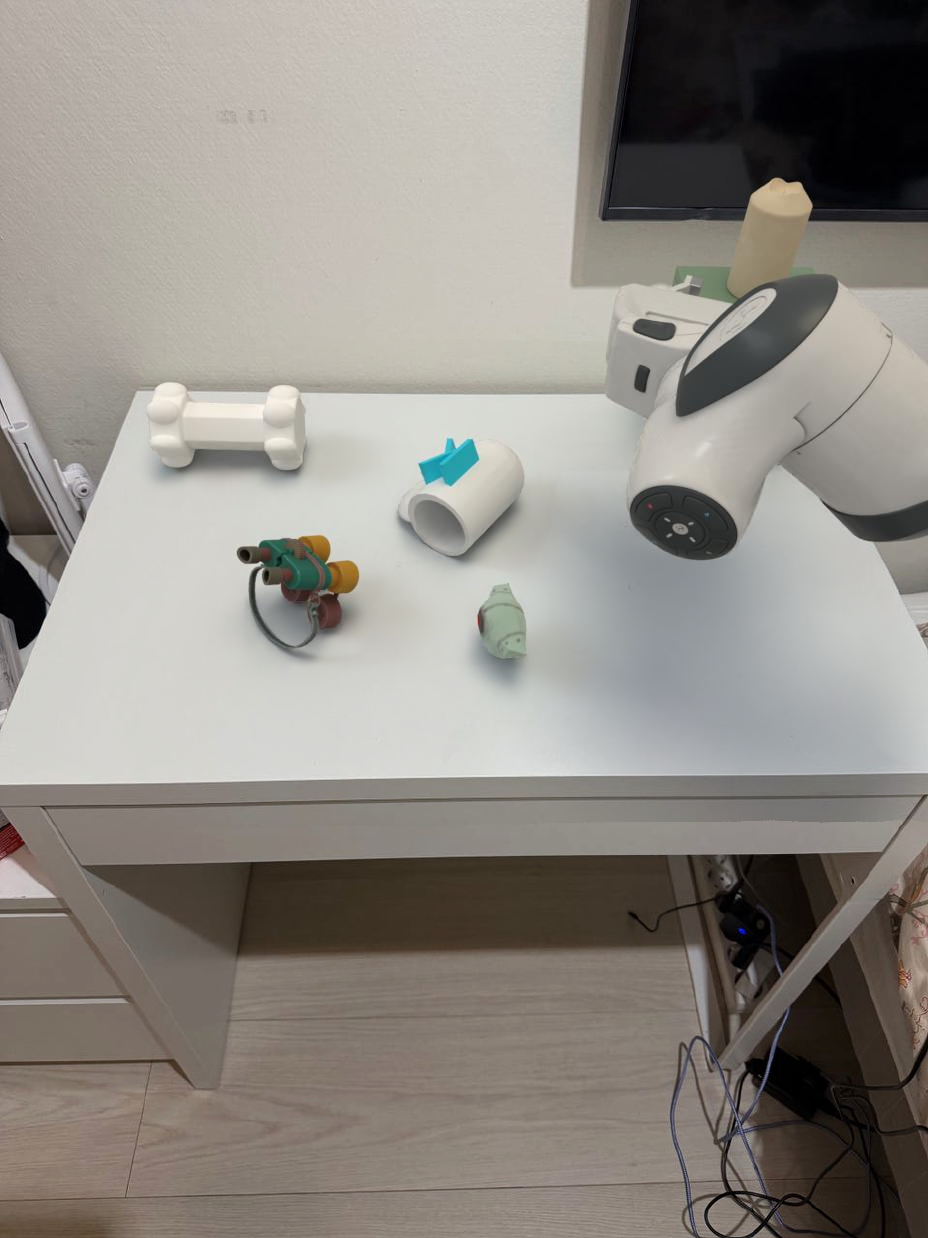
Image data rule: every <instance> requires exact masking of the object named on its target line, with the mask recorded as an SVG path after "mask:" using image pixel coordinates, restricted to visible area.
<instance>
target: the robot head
mask: <svg viewBox="0 0 928 1238" xmlns="http://www.w3.org/2000/svg"><path fill="white" fill-rule="evenodd" d="M476 616H477V618H476V619H477V627H478V631H479V635H480V638H481V639H480V640H481V641H482V643H483V645H484V648H485V649H486V650H487V651H488V652H489V653H490V654H491V655H492V656H494V657H495V658H497V659H498V660H499V659H500V660H508V659H515V658H519V657H524V656H528V653H527V645H526V641H527V620H526V616H525V612H524V609H523V607H522V606H521V604H520V603H519V602H518V599H516V597H515V595H514V594H513V590H512V588H511V586H510V583H509V582H507V583H501V584H496V585H493V586H492V588H491V591H490V593H489V597H488V598H487V599H486V601H485V602H484V603H483V604H482V605H481V606H480V607H479V610H478V612H477V615H476Z"/></svg>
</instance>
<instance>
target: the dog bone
mask: <svg viewBox="0 0 928 1238" xmlns="http://www.w3.org/2000/svg"><path fill="white" fill-rule="evenodd" d="M306 412H307V408H306V406H305V405H304V403H303V401H302V398H301V392H300V391H299V389H298V388H296V387H295V386H292V385H287V384H279V385H275V386H273V387H272V388H270V389H269V390H268V392H267V397H266V401H265V403H237V402H236V403H230V402H195V401H194V400H193V399H192V397H191V396H190V394H189V393H188V389H187V388H186V387H185V385H183V384H181V383H179V382H174V381H173V382H172V381H170V382H169V381H167V382H163V383H160V384H158V385H157V386H156V387H155V389H154V392H153V396H152V399H151V402H149V404H147V406H146V412H145V413H146V416H147V419H148V420H147V421H148V429H149V439H150V440H149V448H150V449H151V450H152V451H153V452H154V453H156V454H157V455H159V457H160V461H161V462H162V464H164V466H166V467H170V468H176V469H177V468H184V467H187V466H189V465H190V464H191V463H192V462H193V459H194V455H195V453H196V451H197V450H218V451H219V450H221V451H224V450H225V451H264V452H265V453H266V454H267V455H268V457H269V458H270V462H271V464H272V466H273V467H275V468H276V469H278V470H280V471H281V470H282V471H293V470H296V469H298V468H300V467H301V466H302V464H303V462H304V452H305V448H306V446H307V444H308V438H307V434H306Z"/></svg>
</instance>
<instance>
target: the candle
mask: <svg viewBox="0 0 928 1238" xmlns="http://www.w3.org/2000/svg"><path fill="white" fill-rule="evenodd" d="M747 205H748V206H747V208H746V212H745V216H744V219H743V223H742V226H741V230H740V234H739V237H738V241H737V244H736V249H735V252H734V256H733V259H732V262H731V266H730V267H731V269H730V273H729V277H728V281H727V288H728V290H729V292H730V293H731V294H732V295H734V296H735V297H737V298H739V299H740V298H741V297H742V296H744V295H745V294H746V293H748V292H749V291H751V290H752V289H754V288H756V287H758V286H760V285H762V284H765V283H768V282H772V281H776V280H780V279H784V278H789V275H790V272H791V269H792V267H794V263H795V261H796V257H797V254H798V251H799V249H800V246H801V242H802V240H803V236H804V235H805V234H804V233H805V231H806V228H807V224H808V222H809V218H810V216H811V213H812V209H813V202H812V201H811V199H810V198H809V195H808V194H807V192H806V190H805V189H804V186H803V184H802V183H801V182H799V181H793V182H786V181H785V180H784V179H783V178H780V177H774V178H772V179H771V180H770V181H769V182H767V183H766V184H764V185H763V186H761V187H760V188H758V189H757V190H756V191H754V192H753V193H752V194H751V195H750V197H749V201H748V204H747Z"/></svg>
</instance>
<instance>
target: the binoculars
mask: <svg viewBox="0 0 928 1238" xmlns="http://www.w3.org/2000/svg"><path fill="white" fill-rule="evenodd" d="M331 552H332V551H331V543H330V541H329V539H328V538H327V537H326V536H325V535H322V534H315V535H303V536H300V537H298V538H291V537H282V538H279V539H263V540H261V541H260V542H259V544H258V546H256V545H251V546H250V545H249V546H248V545H247V546H245V545H244V546H240V547H238V548H237V550H236V556H237V559H238V560H239V561H240V562H241V563H243V564H245V565H256V564H259V563H260V565H258V566H256V567H253V569H252V570H251V572H250V574H249V577H248V592H247V593H248V602H249V607H250V610H251V613H252V616H253V618H254V620H255V622H256V623H257V625H258V627H259V628H260V629H261V631H262V632H263V634H264V635H265V636H266V637H267V638H268V639H269V640H270V641H272V642H273V643H274V644H275V645H278V646H279V647H282V648H284V649H287V650H294V649H300V648H303V647H305V646H307V645H309V644H310V643H311V642H312V641H314V639H315V638H316V637H317V635H318V633H319V630H320V629H333V628H336V627H338V626H339V624H340V623H341V621H342V617H343V616H342V615H343V610H342V606H341V603H340V601H339V599H338V598H339V596H340V594H349V593H351V592H353V591H354V590H355V589H356V588H357V585H358V584H359V579H360V571H359V567H358V566H357V564H356V563H355V562H354V561H352V560H349V559H347V560H338V561H329V562H328V560H329V558H330V556H331ZM262 569H263V570H262ZM261 570H262V571H261ZM260 571H261V573H262V574H261V580H262V583H263V585H264V586H277V585H280V591H281V594H282V596H283V597H284V599H285V600H286V601H288V602H290V603H291V602H293V603H294V602H295V603H296V602H297V603H298V602H299V603H300V602H303V603H306V602H307V603H306V605H307V608H306V613H307V619H308V621H309V622H310V624H311V631H310V633H309V635H308V637H306V639H305V640H304V641H302V642H301V643H299V644H297V645H291V644H288V643H286V642H285V641H283V640H281V639H279V638H278V637H277V636H276V635H275V634H274V633H273V632H272V631H271V630H270V628H268V626H267V624H266V623H265V620H264V619H263V617H262V615H261V613H260V611H259V608H258V604H257V598H256V582H257V581H256V580H257V577H258V573H259V572H260ZM326 590H327V591H328V593H324V594H321V595H319V594H320V593H321V592H322V591H323V592H324V591H326ZM329 592H330V593H329Z"/></svg>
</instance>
